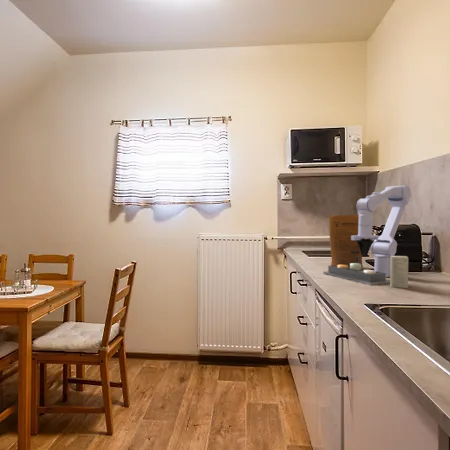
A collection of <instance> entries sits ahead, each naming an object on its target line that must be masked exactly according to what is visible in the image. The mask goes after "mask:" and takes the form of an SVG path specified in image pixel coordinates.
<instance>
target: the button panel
mask: <svg viewBox="0 0 450 450" xmlns="http://www.w3.org/2000/svg"><path fill="white" fill-rule="evenodd" d="M327 267H328V270H327V271H323V275H326V276H331V277H335V278H338V279H339V278H340V279H342V280H348V281H352V282H356V283H359V284H364V285H368V286H376V285H383V284H385V285H386V284H390V279H386V278H387V277H386V273H382V272H377V271H376V273H371V274H370V273H365V272H364V270H368V268H367V269H366V268H363V267H362V268H361V270H357V271H355V270H350V266H348V267H347V268H341V267H337V265H328V266H327Z"/></svg>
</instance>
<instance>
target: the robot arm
mask: <svg viewBox="0 0 450 450" xmlns="http://www.w3.org/2000/svg"><path fill="white" fill-rule="evenodd" d="M384 188H385V189H384V190H381V191H380V192H379V191H378V192H377V191H373V192H372V193H371V194H370V195H367V196H365V198H360V199H358V200H357V202H356V205H355V207H356V208H355V209H356V210H357V215H359V224H358V235H355V236H351V240H357V243H358V245H359V248H360V251H361V255H362V257H366V258H367V257H368V255H369V252H371V254H372V255H373V257H374V267H373V268H374V269H373V270H374V271H377V272H382V273H386V278H390V263H391V256H396V255H395V254H396V253H397V246H398V243H397V241H396V240H395V235H396V233H397V230H398V227H399V225H400V222H401V221H402V217H403V215H404V212H405V209H406V206H407V205H408V203H409V201H410V199H411V195H412V192H411V188H410V185H407V184H405V185H388V186H386V187H384ZM384 200H387V202H388V204H389V205H390V206H392V208H391V210H390V213H389V215H388V218H387V220H386V223H385V226H384V228H383V231H382V233H381V235H376V234H373V217H374V215H373V214H374V212H375V210H376V208H377V207H378V206H380V205H381V204H383V203H384ZM363 238H365V239H363Z"/></svg>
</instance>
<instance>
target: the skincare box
mask: <svg viewBox="0 0 450 450" xmlns="http://www.w3.org/2000/svg"><path fill="white" fill-rule="evenodd" d="M389 280H390V283H389V286H390V287H391V288H402V289H408V288H409V257H408V256H407V255H394V256H391V263H390V277H389Z"/></svg>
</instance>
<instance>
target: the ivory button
mask: <svg viewBox="0 0 450 450" xmlns="http://www.w3.org/2000/svg"><path fill="white" fill-rule="evenodd" d="M364 272H365V273H370V274H371V273H376V271H374V269H367V270H364Z"/></svg>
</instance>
